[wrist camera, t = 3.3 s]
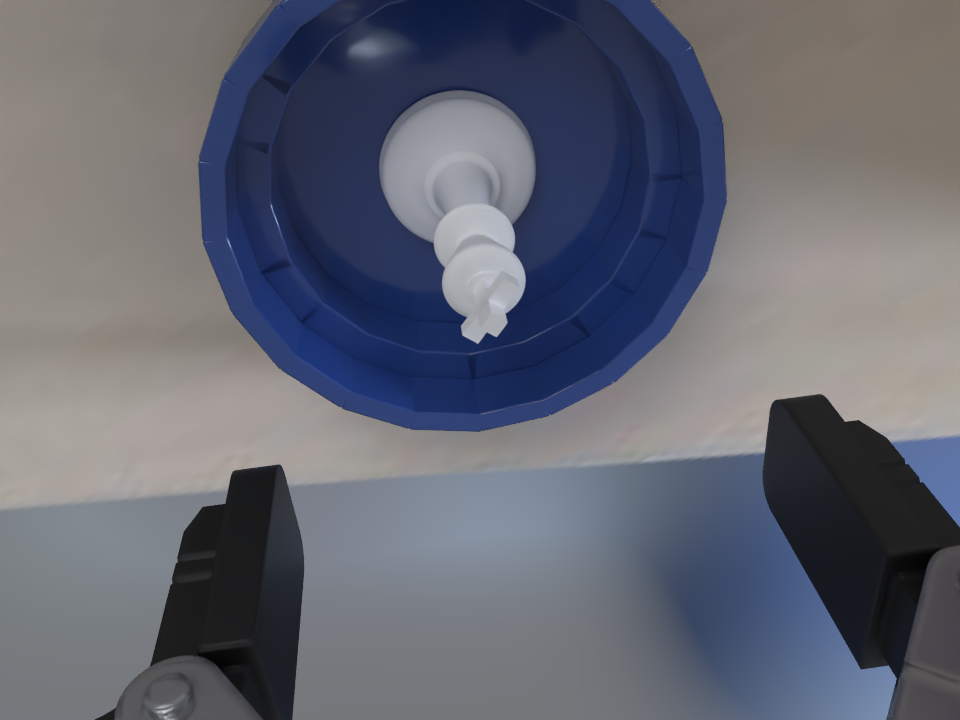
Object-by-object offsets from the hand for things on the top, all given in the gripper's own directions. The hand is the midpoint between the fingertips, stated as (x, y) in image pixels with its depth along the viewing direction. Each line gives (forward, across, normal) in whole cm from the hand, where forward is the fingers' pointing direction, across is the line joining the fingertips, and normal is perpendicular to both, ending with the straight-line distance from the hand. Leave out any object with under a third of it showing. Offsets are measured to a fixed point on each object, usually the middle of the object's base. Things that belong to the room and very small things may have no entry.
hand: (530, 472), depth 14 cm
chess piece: (+16, 0, 0) cm, 16 cm away
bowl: (+16, 0, 0) cm, 16 cm away
